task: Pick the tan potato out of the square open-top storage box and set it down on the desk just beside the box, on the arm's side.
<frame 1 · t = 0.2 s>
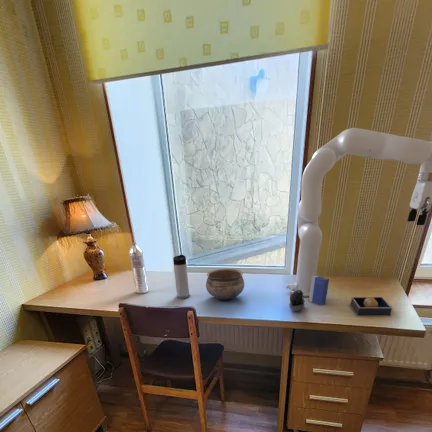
hand: (415, 223, 146), 31 cm above the table, tool pointing down, fingers open, 9 cm apart
walkman: (316, 302, 156), on the table
travel mug: (183, 296, 171), on the table
water bottle: (142, 292, 180), on the table
cooking pot: (225, 298, 166), on the table
potato: (369, 309, 146), resting on square open-top storage box
square open-top storage box: (369, 310, 146), on the table
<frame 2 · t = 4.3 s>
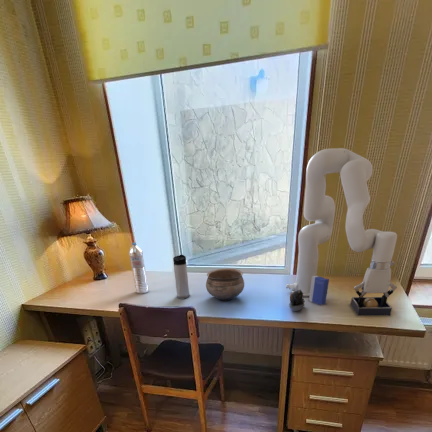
hand: (371, 305, 144), 2 cm above the table, tool pointing down, fingers open, 8 cm apart
nothing on the table moved.
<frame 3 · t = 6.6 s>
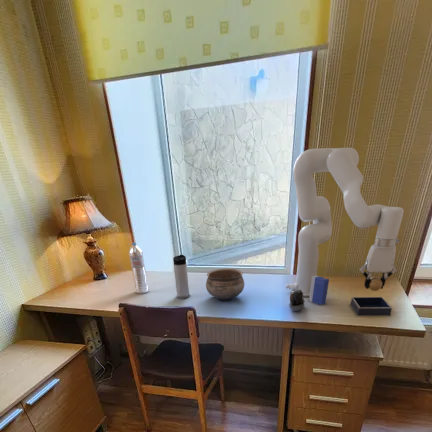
hand: (373, 287, 141), 10 cm above the table, tool pointing down, fingers closed on potato, 5 cm apart
potato: (373, 289, 141), point 9 cm above the table, touching gripper
everything else where it was.
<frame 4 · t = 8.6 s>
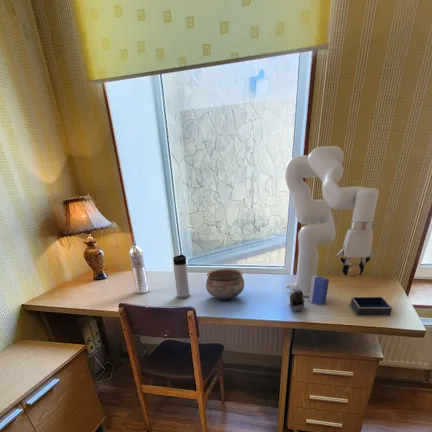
hand: (352, 273, 135), 17 cm above the table, tool pointing down, fingers closed on potato, 5 cm apart
potato: (351, 275, 136), point 16 cm above the table, touching gripper
everything else where it was.
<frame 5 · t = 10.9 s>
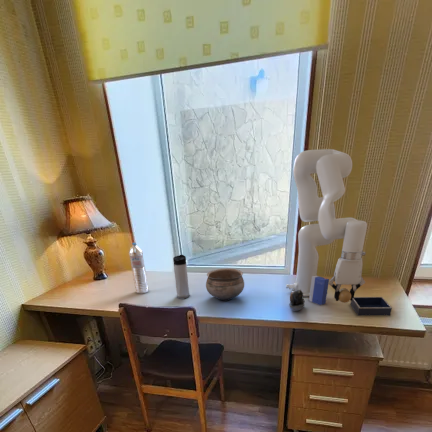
hand: (343, 299, 141), 6 cm above the table, tool pointing down, fingers closed on potato, 5 cm apart
potato: (343, 301, 141), point 6 cm above the table, touching gripper
everything else where it was.
when the fingers open (1 cm above the table, at t = 12.6 s): potato stays where it is, on the table.
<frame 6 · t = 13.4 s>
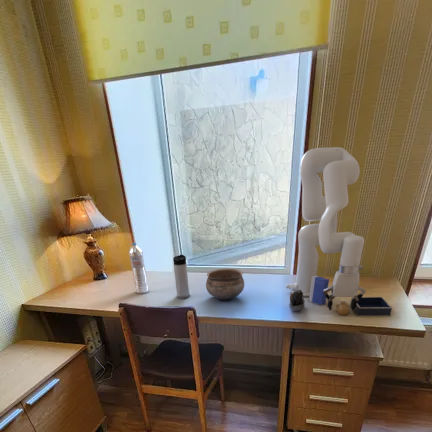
hand: (341, 308, 144), 2 cm above the table, tool pointing down, fingers open, 9 cm apart
potato: (340, 313, 145), on the table
everything else where it was.
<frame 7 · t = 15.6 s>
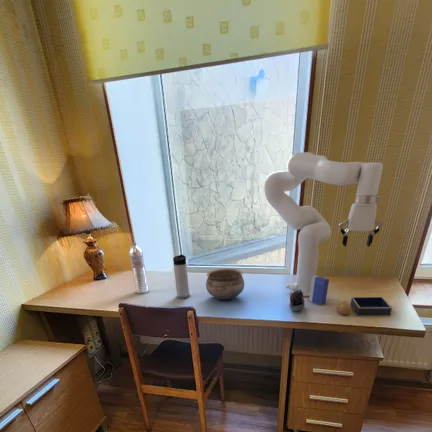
hand: (356, 245, 140), 25 cm above the table, tool pointing down, fingers open, 9 cm apart
potato: (340, 313, 145), on the table, tilted 19°
everything else where it was.
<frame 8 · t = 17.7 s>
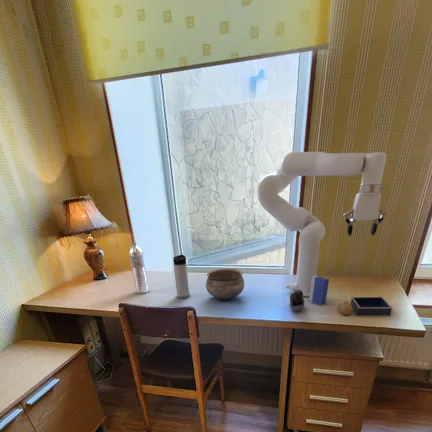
hand: (360, 234, 144), 28 cm above the table, tool pointing down, fingers open, 9 cm apart
potato: (341, 312, 144), on the table, tilted 32°
everything else where it was.
at the end: potato inside the target area (0.2 cm from its centre), on the table; potato touching table; the gripper is holding nothing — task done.
